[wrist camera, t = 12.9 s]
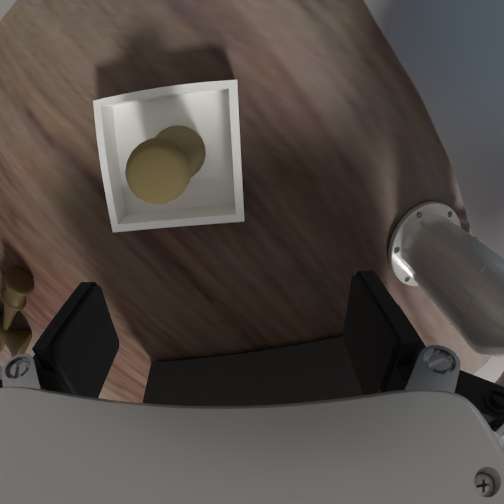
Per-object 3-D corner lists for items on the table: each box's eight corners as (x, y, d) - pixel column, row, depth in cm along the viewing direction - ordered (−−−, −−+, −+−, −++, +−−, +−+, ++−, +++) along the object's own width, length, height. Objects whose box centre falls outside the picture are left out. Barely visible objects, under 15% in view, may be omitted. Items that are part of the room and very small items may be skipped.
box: (236, 83, 28) (237, 79, 25) (242, 209, 35) (244, 221, 31) (107, 100, 28) (93, 100, 24) (123, 219, 34) (112, 232, 31)
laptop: (195, 439, 56) (192, 551, 32) (150, 355, 44) (119, 519, 20) (366, 412, 56) (404, 517, 32) (386, 318, 44) (467, 461, 20)
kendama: (53, 286, 38) (26, 356, 44) (8, 249, 35) (-11, 326, 40) (35, 309, 33) (13, 377, 38) (-14, 267, 30) (-26, 344, 35)
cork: (139, 146, 30) (100, 165, 20) (186, 114, 29) (165, 117, 19) (169, 191, 33) (144, 229, 23) (216, 161, 32) (210, 187, 22)
